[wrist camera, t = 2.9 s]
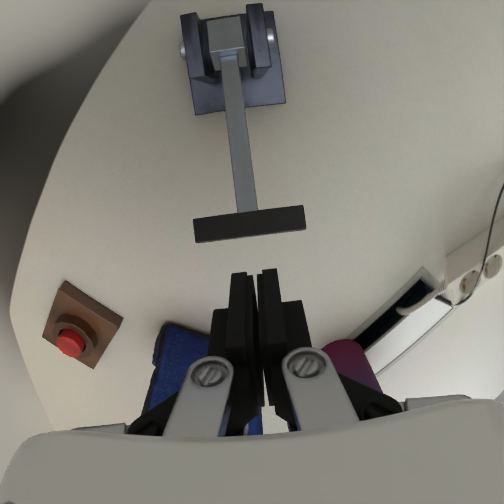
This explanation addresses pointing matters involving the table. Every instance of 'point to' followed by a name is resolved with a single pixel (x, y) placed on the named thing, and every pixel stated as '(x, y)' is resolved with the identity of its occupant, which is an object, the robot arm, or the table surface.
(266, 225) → the lever
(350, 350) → the cup
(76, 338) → the button
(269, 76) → the bracket
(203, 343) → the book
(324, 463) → the robot arm
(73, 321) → the button box
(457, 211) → the table surface
